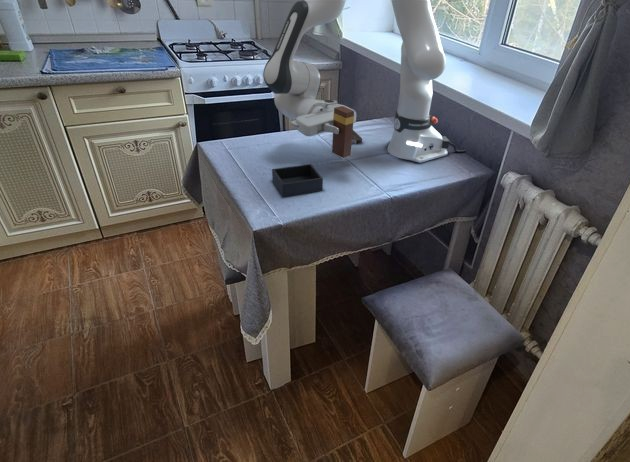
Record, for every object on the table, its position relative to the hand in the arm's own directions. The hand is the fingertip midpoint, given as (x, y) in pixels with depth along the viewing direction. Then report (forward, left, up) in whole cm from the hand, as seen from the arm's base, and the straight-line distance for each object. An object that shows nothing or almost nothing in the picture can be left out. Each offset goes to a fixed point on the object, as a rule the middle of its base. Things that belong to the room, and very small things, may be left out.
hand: (345, 129), depth 126 cm
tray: (+15, 0, -16) cm, 22 cm away
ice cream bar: (-16, -30, -17) cm, 38 cm away
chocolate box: (0, -1, -8) cm, 8 cm away
